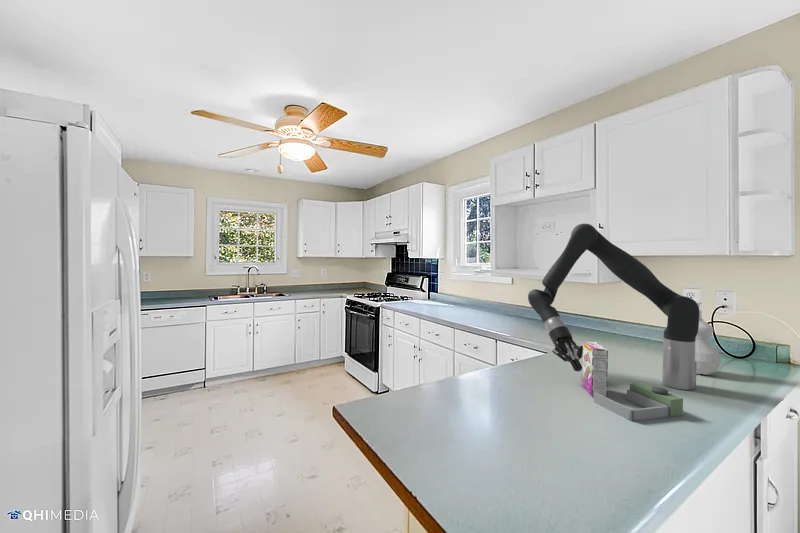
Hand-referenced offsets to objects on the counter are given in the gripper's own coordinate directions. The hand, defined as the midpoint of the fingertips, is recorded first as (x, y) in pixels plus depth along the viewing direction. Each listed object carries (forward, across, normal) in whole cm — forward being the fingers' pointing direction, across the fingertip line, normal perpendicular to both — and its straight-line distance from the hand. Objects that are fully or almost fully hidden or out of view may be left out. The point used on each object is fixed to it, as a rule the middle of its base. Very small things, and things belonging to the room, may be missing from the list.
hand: (579, 370), depth 129 cm
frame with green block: (+19, +3, -11) cm, 22 cm away
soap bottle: (+1, +60, +7) cm, 60 cm away
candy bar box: (+9, 0, -1) cm, 9 cm away
